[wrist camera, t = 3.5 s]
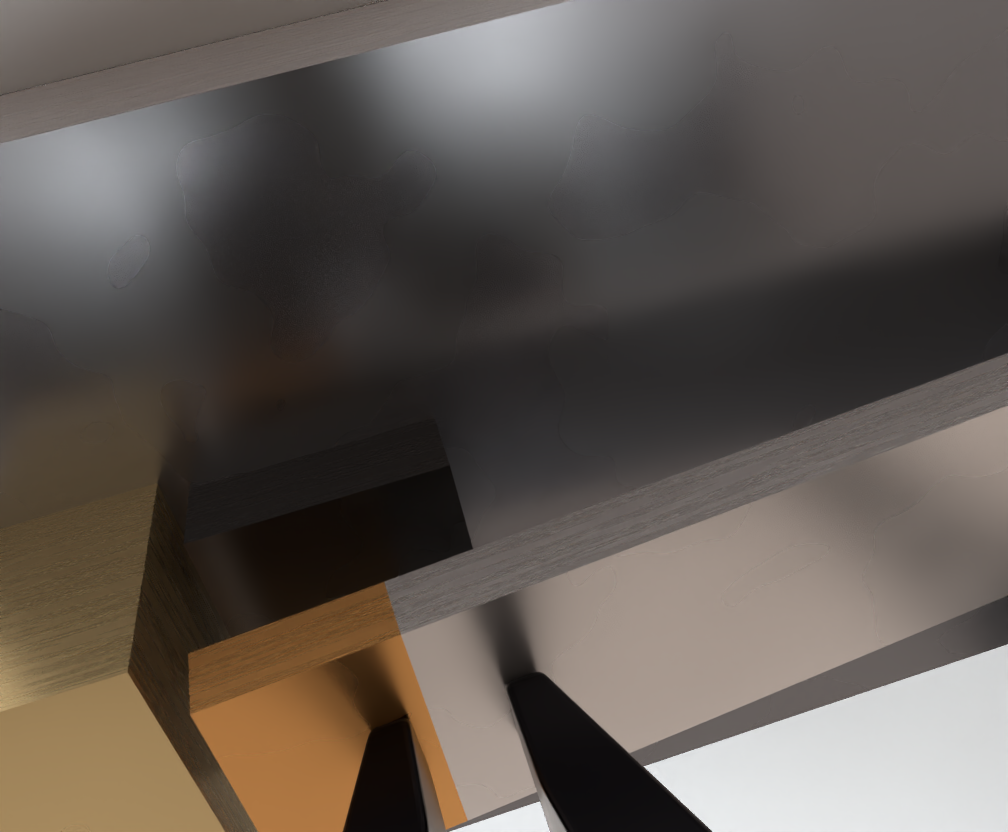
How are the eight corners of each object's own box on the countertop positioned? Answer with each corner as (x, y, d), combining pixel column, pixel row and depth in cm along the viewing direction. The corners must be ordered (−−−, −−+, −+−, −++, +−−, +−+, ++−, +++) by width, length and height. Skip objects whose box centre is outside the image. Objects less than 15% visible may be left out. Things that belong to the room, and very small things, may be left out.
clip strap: (1464, 174, 12) (1583, 200, 11) (1387, 371, 13) (1484, 410, 12) (187, 639, 9) (190, 731, 8) (284, 816, 11) (295, 909, 10)
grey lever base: (1432, -257, 13) (2192, -339, 8) (1227, 436, 19) (1568, 636, 14) (-181, 139, 11) (-564, 377, 6) (196, 766, 17) (171, 1135, 12)
